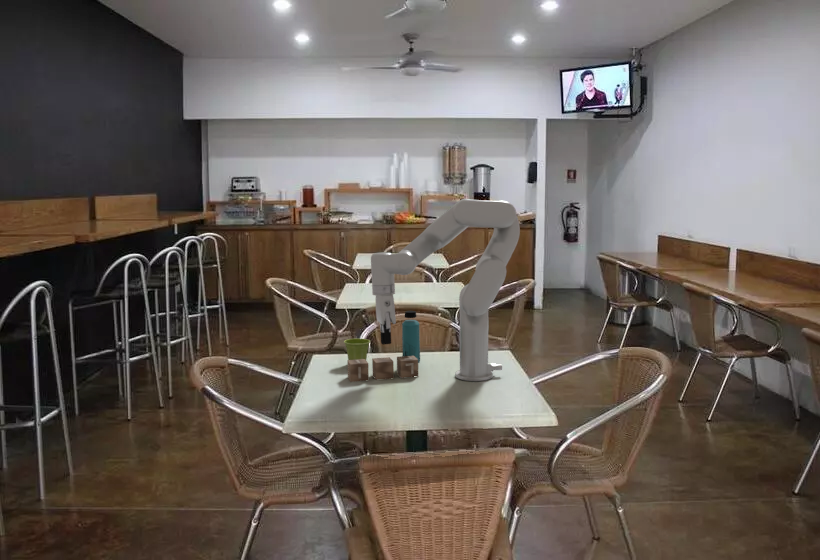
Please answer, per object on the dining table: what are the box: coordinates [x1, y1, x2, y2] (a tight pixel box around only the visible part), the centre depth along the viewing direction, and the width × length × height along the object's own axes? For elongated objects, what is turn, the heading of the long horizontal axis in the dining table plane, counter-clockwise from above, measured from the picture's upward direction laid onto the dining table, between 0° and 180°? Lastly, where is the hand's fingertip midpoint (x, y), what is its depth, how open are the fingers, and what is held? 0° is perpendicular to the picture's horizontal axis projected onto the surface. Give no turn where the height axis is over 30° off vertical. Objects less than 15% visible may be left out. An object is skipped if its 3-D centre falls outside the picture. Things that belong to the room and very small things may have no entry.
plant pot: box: [343, 338, 371, 361], centre depth 257 cm, size 9×9×9 cm
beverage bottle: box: [401, 310, 421, 364], centre depth 253 cm, size 6×7×20 cm
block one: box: [347, 359, 370, 383], centre depth 238 cm, size 6×6×6 cm
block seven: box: [396, 355, 419, 379], centre depth 242 cm, size 6×6×6 cm
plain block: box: [371, 356, 395, 381], centre depth 240 cm, size 6×6×6 cm
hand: (386, 343), depth 239 cm, fingers closed
